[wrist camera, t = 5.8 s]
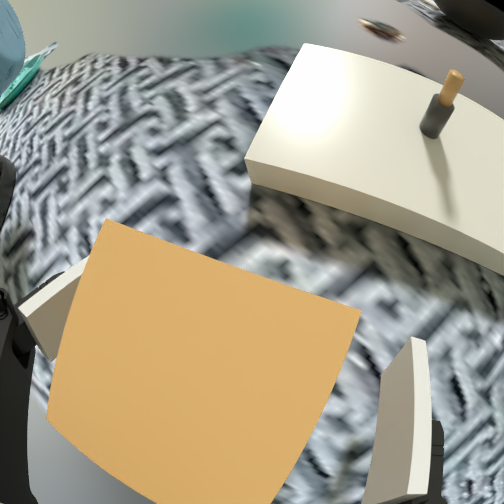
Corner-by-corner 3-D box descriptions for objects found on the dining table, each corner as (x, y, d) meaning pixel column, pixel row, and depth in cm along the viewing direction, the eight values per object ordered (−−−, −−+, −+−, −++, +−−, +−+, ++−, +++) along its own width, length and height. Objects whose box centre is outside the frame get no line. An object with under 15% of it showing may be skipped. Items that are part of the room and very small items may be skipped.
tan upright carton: (198, 370, 16) (46, 419, 4) (228, 293, 17) (106, 218, 5) (278, 402, 14) (244, 539, 3) (310, 323, 15) (361, 310, 4)
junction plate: (251, 183, 18) (223, 90, 10) (304, 67, 21) (302, -8, 13) (513, 280, 14) (586, 251, 5) (505, 146, 16) (544, 96, 8)
